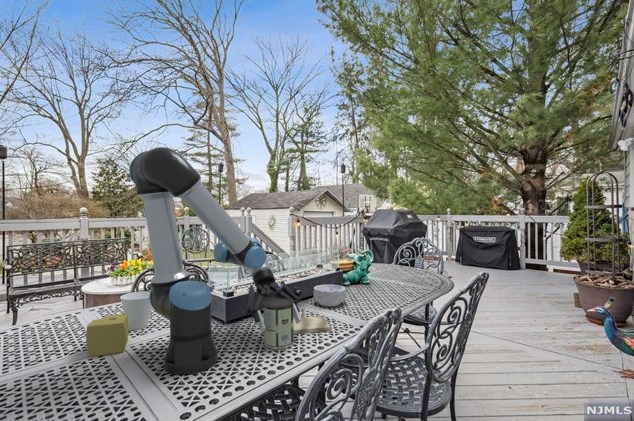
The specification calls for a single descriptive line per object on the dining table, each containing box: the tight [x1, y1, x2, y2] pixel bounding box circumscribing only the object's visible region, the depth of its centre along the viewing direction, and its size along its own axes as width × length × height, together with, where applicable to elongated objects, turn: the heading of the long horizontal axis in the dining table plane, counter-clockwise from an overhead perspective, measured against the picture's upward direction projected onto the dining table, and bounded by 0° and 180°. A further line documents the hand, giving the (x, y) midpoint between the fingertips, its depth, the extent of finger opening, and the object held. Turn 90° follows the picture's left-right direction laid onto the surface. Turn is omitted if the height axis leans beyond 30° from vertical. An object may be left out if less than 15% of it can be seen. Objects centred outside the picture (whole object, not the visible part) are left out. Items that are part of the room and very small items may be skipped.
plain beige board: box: [293, 315, 332, 335], centre depth 133 cm, size 18×13×2 cm
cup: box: [119, 290, 153, 331], centre depth 133 cm, size 12×12×12 cm
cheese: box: [85, 313, 129, 358], centre depth 113 cm, size 10×11×10 cm
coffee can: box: [262, 297, 295, 350], centre depth 117 cm, size 10×10×14 cm
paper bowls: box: [313, 284, 347, 308], centre depth 163 cm, size 15×15×8 cm
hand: (281, 326), depth 116 cm, fingers open, 13 cm apart
